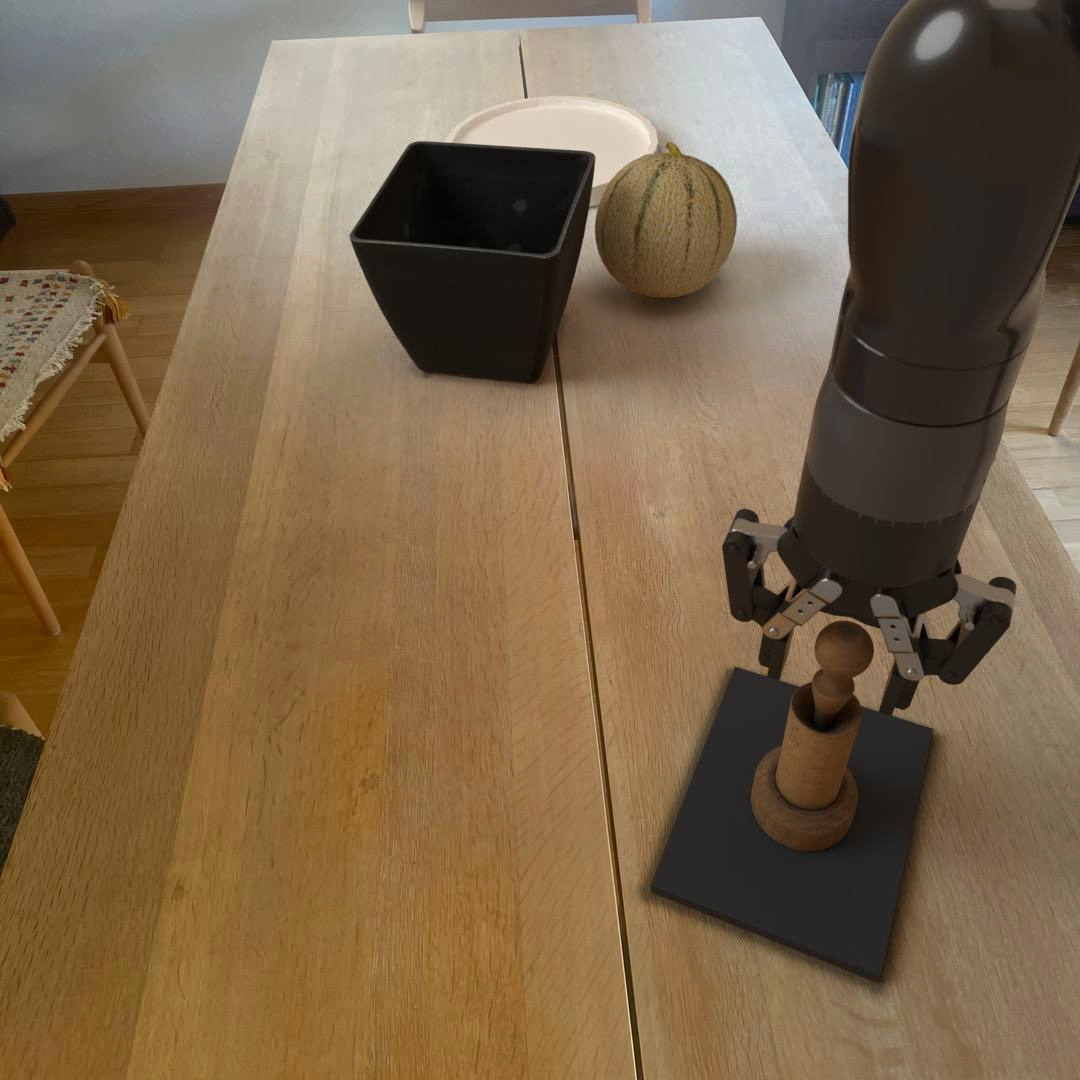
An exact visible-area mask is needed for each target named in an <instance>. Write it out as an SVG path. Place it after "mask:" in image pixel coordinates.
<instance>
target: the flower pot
mask: <svg viewBox="0 0 1080 1080" xmlns="http://www.w3.org/2000/svg"><path fill="white" fill-rule="evenodd" d="M594 169H595V155H594V154H593V153H591V152H587V151H577V150H562V149H545V148H529V147H513V146H496V145H480V144H464V143H446V142H445V141H444V142H443V141H427V140H418V141H413V142H411V143H409V144H408V145H407V146H406V148H405V149H404V151H403V152H402V154H401V155H400V157H399V158H398V160H397V161H396V163H395V164H394V166H393V168H392V169H391V171H390V172H389V173H388V175H387V177H386V178H385V180H384V182H383V183H382V184H381V186H380V188H378V189H379V190H378V191H377V192H376V194H375V195H374V197H373V199H372V200H371V201H370V203H369V205H368V206H367V208H366V209H365V210H364V212H362V213H363V214H362V215H361V216H360V218H359V219H358V221H357V222H356V223H355V225H354V227H353V228H352V230H351V232H350V233H349V236H348V238H349V240H350V243H351V247H352V249H353V252H354V254H355V257H356V259H357V262H358V264H359V266H360V269H361V270H362V273H363V276H364V278H365V280H366V282H367V285H368V288H369V289H370V291H371V293H372V296H373V297H374V299H375V302H376V303H377V305H378V308H379V309H380V311H381V313H382V315H383V316H384V319H385V320H386V322H387V324H388V325H389V328H390V329H391V330H392V332H393V334H394V335H395V337H396V339H397V340H398V342H399V343H400V345H401V346H402V348H403V349H404V350H405V352H406V353H407V355H408V356H409V358H410V359H411V362H413V363H414V365H415V367H416V368H417V369H419V370H420V371H421V372H423V373H430V374H431V373H433V374H441V375H451V376H459V377H468V378H475V379H488V380H496V381H504V382H505V381H506V382H516V383H522V384H523V383H524V384H526V383H527V384H532V383H535V382H537V381H538V380H539V379H540V378H541V377H542V374H543V371H544V368H545V365H546V363H547V360H548V357H549V354H550V352H551V348H552V346H553V343H554V340H555V338H556V335H557V333H558V329H559V327H560V324H561V321H562V318H563V316H564V312H565V310H566V308H567V307H566V306H567V304H568V300H569V297H570V294H571V290H572V286H573V283H574V279H575V276H576V271H577V267H578V264H579V260H580V255H581V251H582V246H583V241H584V239H585V238H584V237H585V233H586V228H587V221H588V216H589V210H590V207H589V205H590V199H591V192H592V185H593V177H594Z"/></svg>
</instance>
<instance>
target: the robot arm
mask: <svg viewBox="0 0 1080 1080" xmlns="http://www.w3.org/2000/svg"><path fill="white" fill-rule="evenodd" d="M864 75H865V76H864V79H863V80H862V85H861V88H860V93H859V96H858V101H857V105H856V110H855V114H854V120H853V124H852V128H851V129H852V130H851V138H850V145H849V154H848V169H847V245H848V256H849V264H850V265H849V266H850V268H849V272H848V275H847V278H846V281H845V284H844V289H843V293H842V297H841V301H840V302H841V303H840V305H839V306H840V307H839V311H838V315H837V316H838V317H837V322H836V327H835V331H834V335H833V341H832V347H831V352H830V357H829V361H828V365H827V369H826V372H825V374H824V377H823V380H822V382H821V384H820V388H819V390H818V394H817V396H816V399H815V404H814V407H813V413H812V418H811V424H810V428H809V434H808V440H807V443H806V450H805V455H804V460H803V465H802V469H801V477H800V480H799V486H798V491H797V497H796V501H795V507H794V512H793V516H792V517H790V518H789V519H788V520H787V521H786V522H785V523H784V525H776V524H769V523H763V522H760V517H759V515H758V514H757V513H756V512H755V511H754V510H751V509H748V508H741V509H739V510H737V511H736V513H735V515H734V517H733V520H732V522H731V524H730V527H729V529H728V531H727V533H726V536H725V538H724V539H723V540H724V541H723V542H722V545H721V550H722V556H723V557H722V558H723V565H724V572H725V579H726V587H727V597H728V603H729V611H730V615H731V617H732V618H733V619H735V620H736V621H739V622H741V623H749V622H751V621H753V622H755V623H756V624H757V625H758V626H759V627H760V628H761V630H762V635H761V640H760V641H761V642H760V645H759V646H760V648H759V653H758V656H757V660H758V662H759V665H760V666H761V667H765V668H767V675H766V676H767V677H770V678H774V679H777V680H780V681H781V677H782V674H783V670H784V669H785V666H786V662H787V660H788V656H789V653H790V649H791V646H792V645H791V643H792V640H793V635H794V631H795V628H796V627H797V626H799V627H803V626H804V625H805V624H806V623H807V622H809V621H810V620H811V619H812V618H813V617H815V615H816V614H818V613H819V612H820V613H824V614H827V615H831V616H836V617H843V618H849V619H850V618H851V619H853V620H855V621H857V622H858V623H861V624H864V625H866V626H869V627H873V628H876V629H880V631H881V634H882V637H883V640H884V644H885V647H886V650H887V652H888V653H889V654H892V655H893V658H894V659H893V661H892V665H891V668H890V671H889V673H888V677H887V679H886V683H885V686H884V689H883V693H882V698H881V700H880V705H879V709H878V712H881V713H884V714H887V715H890V716H893V714H894V712H895V709H898V710H902V711H905V710H906V709H908V708H909V707H911V704H912V701H913V700H914V697H915V694H916V691H917V689H918V686H919V685H920V681H922V679H924V677H926V676H938V679H939V680H940V681H941V682H943V683H944V684H947V685H951V686H956V685H957V686H958V685H961V684H962V683H963V682H965V680H966V679H967V678H968V677H969V676H970V674H971V673H972V672H973V671H974V670H975V668H976V667H977V666H978V665H979V664H980V662H981V661H983V659H984V658H985V657H986V655H988V653H989V652H990V651H991V649H993V647H994V646H995V645H996V644H997V643H998V641H1000V639H1001V638H1002V637H1003V635H1005V633H1006V632H1007V631H1008V630H1009V628H1010V627H1011V623H1012V619H1013V614H1014V607H1015V602H1016V601H1015V600H1016V592H1017V583H1016V582H1015V581H1014V580H1013V579H1011V578H1009V577H1005V576H995V577H993V578H991V579H990V580H989V581H988V583H986V582H984V581H982V580H980V579H976V578H975V577H971V576H969V575H967V574H964V573H962V571H963V570H962V566H961V563H960V561H959V554H960V552H961V549H962V546H963V544H964V541H965V538H966V537H967V533H968V532H969V531H968V530H969V528H970V525H971V522H972V520H973V517H974V515H975V512H976V509H977V506H978V504H979V501H980V498H981V495H982V493H983V490H984V488H985V485H986V482H987V480H988V477H989V474H990V472H991V469H992V466H993V464H994V463H995V461H996V458H997V453H998V450H999V447H1000V445H1001V441H1002V437H1003V434H1004V429H1005V424H1006V418H1007V412H1008V406H1009V402H1010V400H1011V396H1012V393H1013V390H1014V388H1015V385H1016V382H1017V380H1018V378H1019V377H1018V376H1019V375H1020V371H1021V369H1022V366H1023V364H1024V360H1025V357H1026V355H1027V352H1028V349H1029V346H1030V344H1031V341H1032V338H1033V335H1034V333H1035V330H1036V326H1037V323H1038V321H1039V319H1040V313H1041V310H1042V305H1043V303H1044V302H1043V301H1044V297H1045V290H1046V284H1047V283H1046V280H1047V278H1046V277H1047V276H1046V275H1047V273H1046V271H1047V270H1046V266H1047V264H1048V262H1049V260H1050V256H1051V255H1052V252H1053V249H1054V246H1055V245H1056V242H1057V239H1058V236H1059V235H1060V232H1061V229H1062V227H1063V224H1064V222H1065V219H1066V216H1067V214H1068V211H1069V209H1070V206H1071V204H1072V201H1073V199H1074V196H1075V194H1076V192H1077V190H1078V187H1079V185H1080V0H909V1H908V2H906V3H905V5H904V6H902V8H901V9H900V10H899V11H898V13H897V14H896V15H895V16H894V18H893V19H892V20H891V21H890V23H889V24H888V26H887V28H886V29H885V31H884V32H883V34H882V36H881V37H880V40H879V41H878V43H877V45H876V47H875V49H874V51H873V54H872V56H871V58H870V61H869V64H868V66H867V69H866V72H865V74H864ZM774 552H777V554H778V556H779V558H780V560H781V561H782V562H783V564H784V565H785V567H786V569H787V570H788V572H789V573H790V574H791V576H792V577H791V578H790V579H789V580H788V581H787V582H786V583H785V584H784V585H783V586H782V587H781V588H780V589H779V590H778V591H777V592H774V591H771V590H770V589H768V588H766V577H765V567H764V564H765V563H766V562H767V561H768V557H769V555H770V554H771V553H774ZM951 601H954V602H956V603H957V605H958V606H959V608H958V612H957V616H958V619H959V620H958V621H957V623H956V624H955V626H953V628H952V629H951V631H950V632H949V633H948V634H947V635H946V637H945V638H933V637H932V635H931V630H930V628H929V625H928V621H927V617H926V616H927V615H926V613H927V612H931V611H932V610H934V609H937V608H939V607H941V606H943V605H946V604H948V603H950V602H951Z"/></svg>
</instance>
